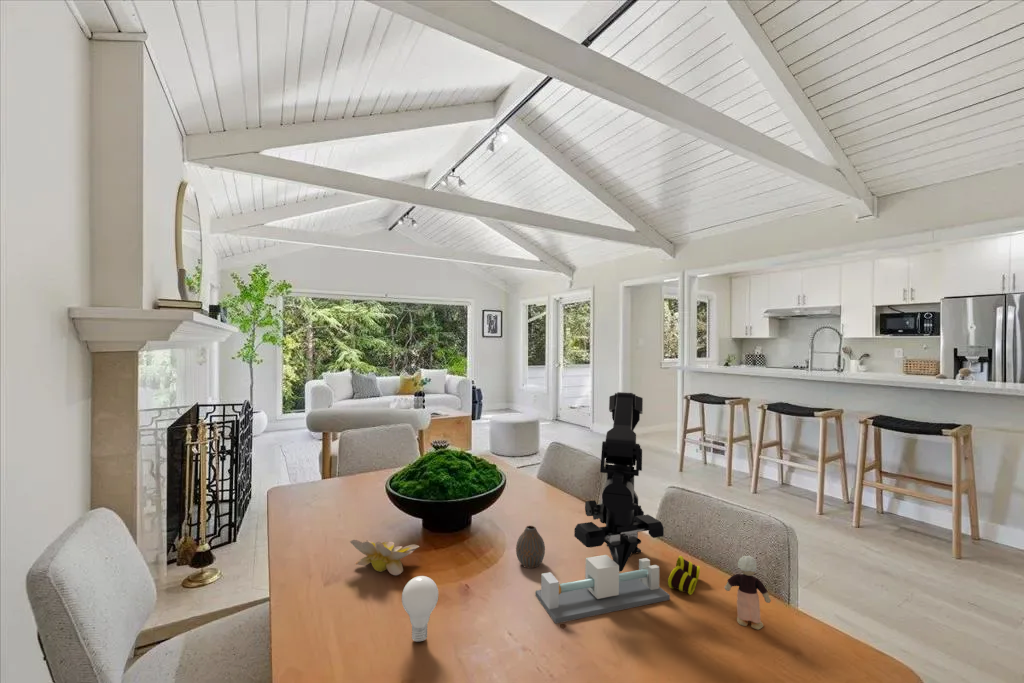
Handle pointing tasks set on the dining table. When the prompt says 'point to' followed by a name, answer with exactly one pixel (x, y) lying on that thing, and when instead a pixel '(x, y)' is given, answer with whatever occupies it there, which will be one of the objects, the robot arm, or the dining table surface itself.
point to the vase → (530, 548)
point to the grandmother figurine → (748, 593)
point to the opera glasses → (684, 576)
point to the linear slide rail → (581, 603)
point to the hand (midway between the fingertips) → (618, 570)
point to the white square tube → (603, 576)
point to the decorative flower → (383, 555)
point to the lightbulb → (419, 604)
